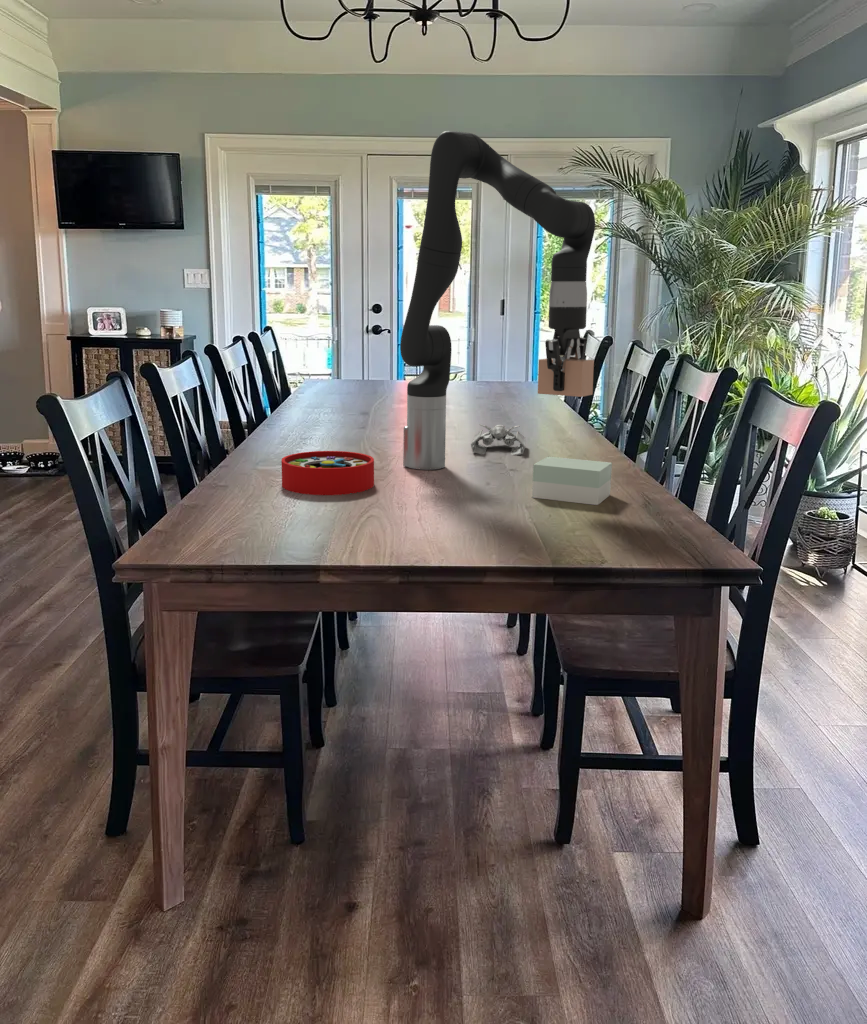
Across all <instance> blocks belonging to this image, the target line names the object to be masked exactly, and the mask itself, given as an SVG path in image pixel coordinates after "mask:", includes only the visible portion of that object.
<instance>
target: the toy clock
mask: <svg viewBox="0 0 867 1024" xmlns="http://www.w3.org/2000/svg"><path fill="white" fill-rule="evenodd" d="M281 486H282V488H283V489H284V490H286V491H288V492H292V493H297V494H302V495H310V496H311V495H313V496H342V494H343V495H350V493H352V494H357V492H358V493H363V492H365V490H366V491H368V489H369V490H370V488H371V489H372V488H374V486H375V458H374V457H373V456H371V455H368V454H365V453H361V452H354V451H341V450H314V451H303V452H296V453H292V454H288V455H285V456H284V457H282V458H281Z"/></svg>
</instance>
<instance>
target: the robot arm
mask: <svg viewBox="0 0 867 1024" xmlns="http://www.w3.org/2000/svg"><path fill="white" fill-rule="evenodd" d="M428 176H429V178H428V189H427V191H428V192H427V201H426V206H425V207H426V208H425V214H424V215H425V216H424V223H423V229H422V235H421V240H420V245H419V250H418V255H417V256H418V257H417V262H416V271H415V275H414V276H415V278H414V282H413V286H412V293H411V296H410V301H409V306H408V309H407V313H406V316H405V320H404V324H403V327H402V332H401V337H400V343H399V344H400V346H399V348H400V349H399V350H400V356H401V358H402V361H403V363H405V364H406V365H407V366H409V367H423V369H422V371H421V373H420V374H419V375H418V376H417V377H415V378H414V379H412V380H411V381H409V382H408V383H407V387H406V388H407V389H406V390H407V391H406V392H407V393H406V394H407V395H406V399H407V400H406V425H405V426H403V441H402V442H403V445H402V446H403V450H402V451H403V452H402V454H403V457H402V458H403V459H402V460H403V463H402V464H403V467H407V468H410V469H413V470H423V471H424V470H426V471H429V470H440V469H443V468H445V467H446V435H447V434H446V432H447V431H446V430H447V429H446V427H447V426H446V425H447V418H446V416H447V389H448V386H449V383H450V376H451V362H452V341H451V340H452V339H451V335H450V333H449V331H448V329H447V328H446V327H444V326H443V325H437V324H436V325H435V324H434V325H433V324H432V325H431V320H432V315H433V312H434V311H435V308H436V306H437V304H438V303H439V301H440V299H441V298H442V297H443V295H444V294H445V292H447V290H448V288H449V287H450V286H451V284H452V283H453V281H454V279H455V278H456V276H457V273H458V269H459V266H460V260H461V255H462V249H463V236H462V231H461V227H460V223H459V220H458V215H457V212H456V197H457V190H458V185H459V181H460V179H473V180H476V181H480V182H483V183H484V184H487V185H489V186H490V187H493V189H495V191H497V192H498V194H500V196H501V197H502V199H503V200H504V201H505V202H506V203H508V205H510V206H511V207H513V208H514V209H516V210H517V211H520V212H521V213H523V214H524V215H526V216H528V217H529V218H532V219H533V220H534V221H535V222H536V223H537V224H538V225H539V226H540V227H541V228H542V229H543V230H545V231H546V232H548V233H549V234H551V235H553V236H555V237H558V238H562V239H563V241H562V246H561V249H560V250H559V251H557V252H555V253H554V254H553V256H552V258H551V269H550V271H551V276H550V277H551V278H550V288H549V296H548V297H549V298H548V299H549V300H548V328H549V329H551V330H554V332H553V333H554V334H553V337H552V339H547V340H545V342H544V343H545V353H546V355H545V356H546V359H547V367H548V369H551V370H552V372H554V377H553V389H554V390H555V391H563V390H564V381H565V373H563V372H564V371H565V364H566V361H569V359H576V360H578V359H580V360H586V358H585V357H586V351H587V345H588V344H587V343H588V338H587V337H581V334H580V330H584V329H586V327H587V312H588V310H587V309H588V308H587V307H588V306H587V305H588V289H587V269H588V262H587V261H588V257H589V254H590V252H591V251H590V250H591V247H592V242H593V239H594V235H595V230H596V219H595V214H594V210H593V209H592V207H591V206H590V205H589V204H587V203H586V202H583V201H575V200H570V199H569V200H568V199H566V198H563V197H561V196H560V195H557V193H556V191H555V189H554V188H553V187H552V186H550V185H548V184H547V183H546V182H544V181H542V180H540V179H538V178H536V177H535V176H533V175H532V174H530V173H528V172H526V171H524V170H522V169H520V168H519V167H517V166H516V165H514V164H513V163H512V162H510V161H508V159H506V158H504V157H503V156H502V155H500V154H499V153H498V152H497V151H496V150H495V149H494V148H492V147H491V145H489V144H488V143H487V142H486V141H485V140H483V139H482V138H481V137H480V136H478V135H477V134H476V133H475V134H474V133H472V132H464V131H455V130H445V131H443V132H441V133H440V134H439V135H438V136H437V138H436V139H435V141H434V143H433V145H432V149H431V153H430V164H429V175H428ZM552 359H553V363H552ZM561 361H562V363H561Z"/></svg>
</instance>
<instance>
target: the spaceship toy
mask: <svg viewBox="0 0 867 1024" xmlns="http://www.w3.org/2000/svg"><path fill="white" fill-rule="evenodd" d="M479 426H481V427H484V428H485V429H487V430H488V431H487V432H484V431H483V429H481V430H480V431H478V432H477V433H476V434H474V436H473V438H472V441H471V443H470V447H471V451H472V453H475V454H478V455H485V454H486V450H487V447H488V446H490V445H492V444H493V443H494V442H496V441H500V442H502V443H504V444H505V446H508V447H512V446H514V445H515V442H518V443H519V445H517V446H514V447H512V448H511V451H510V456H520V455H524V453H525V452H524V451H525V448H526V442H527V441H526V437H525V436H524V435H522V434H521V432H520V431H518V430H517V431H516V434H515V433H513V432H511V431H512V430H513V429H516V428H519V427H520V425H513V426H512V427H509V428H508V429H507V427H506V426H504V425H503V424H496V425H495V426H493V427H490V426H487V425H486V424H479ZM483 432H484V433H483ZM481 440H482V443H483V445H482V444H481V443H480V441H481Z"/></svg>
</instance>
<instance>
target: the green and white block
mask: <svg viewBox="0 0 867 1024" xmlns="http://www.w3.org/2000/svg"><path fill="white" fill-rule="evenodd" d="M612 470H613V462H609V461H608V462H607V461H599V460H589V459H588V460H587V459H579V458H568V457H567V458H566V457H559V456H546V457H544V458H543V459H541V460H539V461H537V462H536V463H533V467H532V487H531V489H532V491H531V492H532V493H531V498H532V499H533V498H535V499H543V500H551V501H557V502H558V501H559V502H569V503H576V504H577V503H578V504H585V505H593V506H594V505H595V506H599V505H600V504H601V503H602V502H603V501H605V500H606V499H607V498H608V497H610V496H611V485H612Z"/></svg>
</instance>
